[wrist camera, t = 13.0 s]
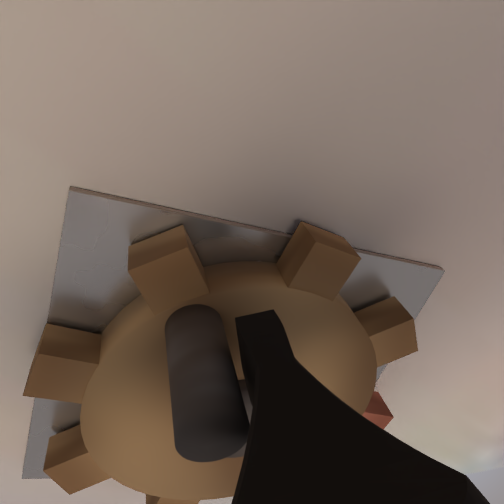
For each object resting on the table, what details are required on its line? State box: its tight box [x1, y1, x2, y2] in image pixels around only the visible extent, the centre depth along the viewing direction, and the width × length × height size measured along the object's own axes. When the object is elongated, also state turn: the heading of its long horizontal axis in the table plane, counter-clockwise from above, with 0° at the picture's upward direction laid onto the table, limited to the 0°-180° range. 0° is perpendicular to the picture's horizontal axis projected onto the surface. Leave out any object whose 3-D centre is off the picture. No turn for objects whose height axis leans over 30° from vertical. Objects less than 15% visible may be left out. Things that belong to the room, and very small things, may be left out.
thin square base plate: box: [22, 186, 445, 479], centre depth 17 cm, size 14×13×1 cm
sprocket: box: [23, 221, 418, 504], centre depth 15 cm, size 14×14×6 cm
